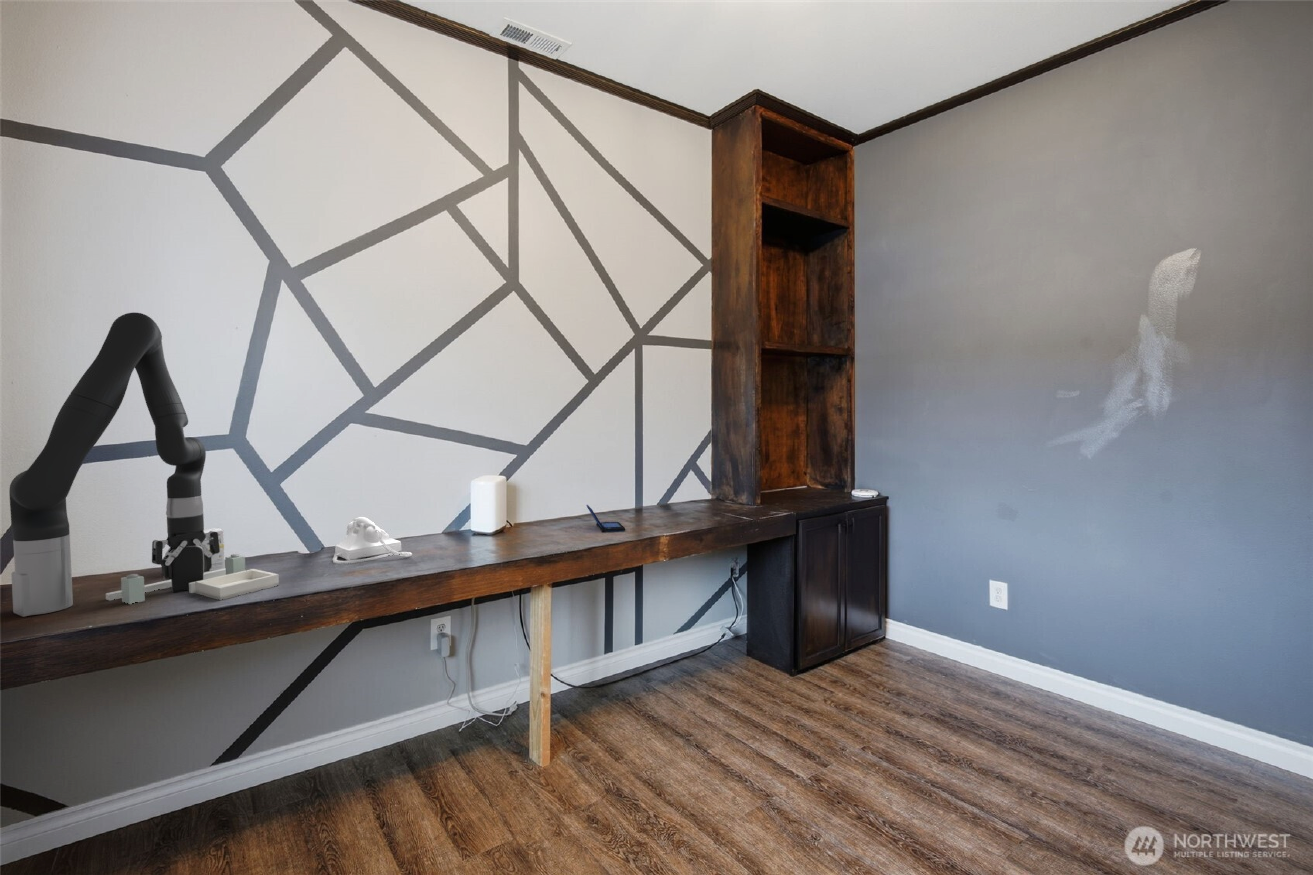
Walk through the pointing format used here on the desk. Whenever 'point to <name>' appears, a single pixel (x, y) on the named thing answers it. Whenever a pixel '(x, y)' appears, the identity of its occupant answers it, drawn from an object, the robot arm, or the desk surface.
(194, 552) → the black rounded upright slab
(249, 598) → the desk surface
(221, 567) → the ink box
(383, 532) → the telephone
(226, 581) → the tray
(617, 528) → the handheld game console
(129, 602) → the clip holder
